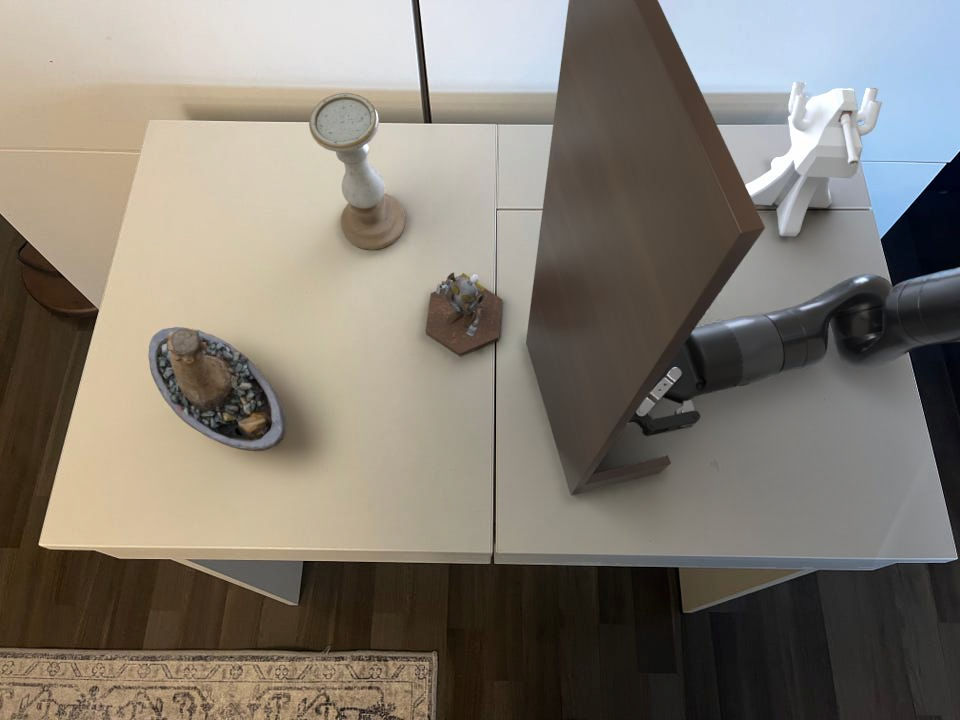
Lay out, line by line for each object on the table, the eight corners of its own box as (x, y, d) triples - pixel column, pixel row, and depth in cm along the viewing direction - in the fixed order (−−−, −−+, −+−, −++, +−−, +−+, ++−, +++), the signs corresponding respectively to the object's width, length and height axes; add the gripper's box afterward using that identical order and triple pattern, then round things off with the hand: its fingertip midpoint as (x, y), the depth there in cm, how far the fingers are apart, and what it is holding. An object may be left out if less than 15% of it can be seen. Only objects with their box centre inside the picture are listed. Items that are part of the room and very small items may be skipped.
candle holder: (329, 220, 91) (286, 116, 72) (379, 185, 93) (350, 74, 74) (367, 262, 88) (334, 165, 69) (418, 225, 90) (399, 121, 71)
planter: (302, 465, 78) (243, 418, 60) (162, 468, 78) (60, 422, 60) (312, 350, 84) (260, 274, 65) (181, 353, 84) (92, 278, 65)
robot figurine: (407, 321, 85) (394, 276, 74) (450, 269, 88) (444, 219, 76) (476, 368, 82) (474, 329, 71) (519, 313, 85) (523, 267, 74)
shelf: (608, 322, 84) (797, -154, 32) (660, 472, 77) (1012, 172, 25) (525, 341, 84) (582, -115, 31) (570, 495, 76) (740, 233, 24)
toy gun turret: (744, 241, 88) (803, 153, 72) (736, 160, 93) (790, 60, 76) (834, 245, 88) (915, 158, 71) (822, 164, 93) (895, 64, 76)
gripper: (716, 283, 73) (573, 316, 72) (766, 402, 68) (613, 439, 67) (697, 312, 80) (567, 342, 79) (741, 422, 75) (603, 456, 74)
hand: (589, 387), depth 73 cm, fingers closed on supplement box, 7 cm apart
